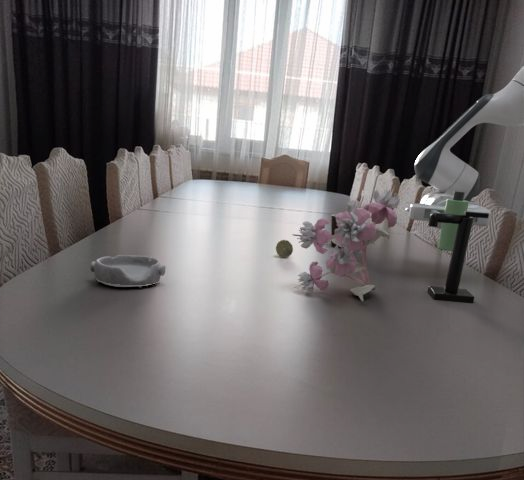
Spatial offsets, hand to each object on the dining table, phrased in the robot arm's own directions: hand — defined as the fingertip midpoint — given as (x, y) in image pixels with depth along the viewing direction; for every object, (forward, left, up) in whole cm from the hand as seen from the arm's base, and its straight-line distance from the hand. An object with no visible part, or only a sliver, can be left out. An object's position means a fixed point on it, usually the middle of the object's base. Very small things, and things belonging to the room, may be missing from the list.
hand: (455, 218), depth 127 cm
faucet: (+3, +12, -17) cm, 21 cm away
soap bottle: (0, -1, -8) cm, 8 cm away
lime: (+42, -18, -17) cm, 49 cm away
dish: (+75, +24, -17) cm, 80 cm away
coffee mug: (+22, -44, -17) cm, 52 cm away
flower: (+29, +19, -17) cm, 38 cm away
